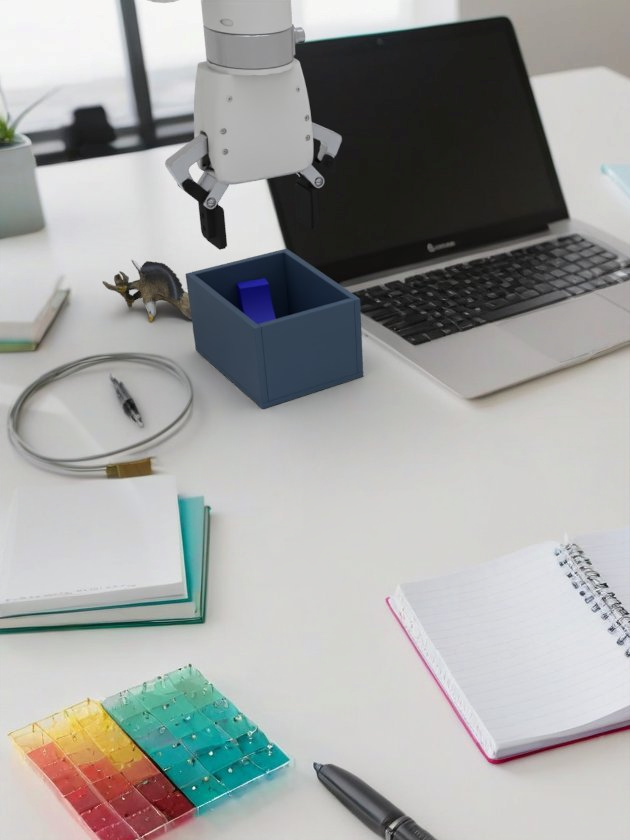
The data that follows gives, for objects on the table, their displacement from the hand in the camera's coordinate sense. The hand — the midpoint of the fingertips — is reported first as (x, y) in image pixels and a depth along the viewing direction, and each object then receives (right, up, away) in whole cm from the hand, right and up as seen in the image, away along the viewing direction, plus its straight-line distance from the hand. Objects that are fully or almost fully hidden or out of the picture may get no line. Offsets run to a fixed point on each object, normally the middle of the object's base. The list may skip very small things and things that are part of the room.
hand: (262, 234), depth 110 cm
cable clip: (0, -11, +8) cm, 13 cm away
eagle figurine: (-15, -5, +16) cm, 22 cm away
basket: (0, -11, +8) cm, 14 cm away
